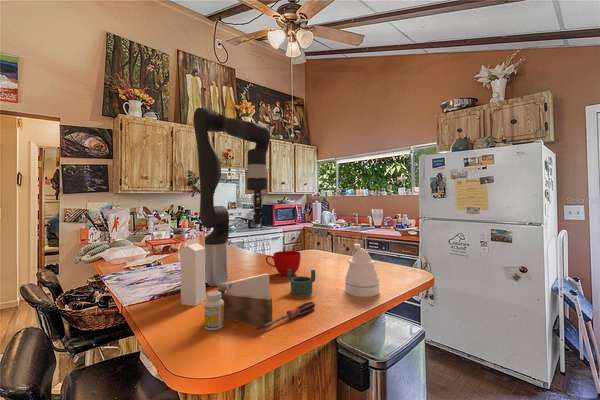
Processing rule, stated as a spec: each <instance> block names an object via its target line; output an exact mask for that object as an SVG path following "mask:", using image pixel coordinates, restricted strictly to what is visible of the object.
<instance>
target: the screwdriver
mask: <svg viewBox="0 0 600 400" xmlns="http://www.w3.org/2000/svg"><path fill="white" fill-rule="evenodd" d="M315 307H316V303H315V302H314V301H308V302H303V303H301V304H300V305H299V306H296V307H294V308H293V309H289V310H287V311H286V314H285V315H282V316H281V317H279V318H276V319H274V320H272V321H271V322H269V323H267V324H265V325H261V326H258V327H257V328H255V329H254V331H259V330H262V329H264V328H267V327H270V326H269V325H271V324H272V325H274V324H275V323H276V324H277V323H278V322H280V321H283V320H285V319H288V320H292V319H293V318H295V317H298V316H300V315H305V314H307V313H309V312H310V311H311V310H313V309H314V308H315ZM272 325H271V326H272Z"/></svg>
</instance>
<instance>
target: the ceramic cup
mask: <svg viewBox="0 0 600 400" xmlns="http://www.w3.org/2000/svg"><path fill="white" fill-rule="evenodd" d="M301 255H302V253H301V252H300V251H297V250H296V251H294V250H281V251H280V250H279V251H276V252H274V253H273V254H272V255H269V254H268V255H266V257H265V262H266V264H268V266H271V267H273V268H275V269H276V271H277V273H279V274H280V276H283V277H288V269H292V276H294V275H295V273H296V272H297V271H298V270H299V267H300V263H301V257H302V256H301ZM268 258H272V260H273V262H274V264H272V263H270V262H269V260H268Z"/></svg>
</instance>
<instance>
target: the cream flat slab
mask: <svg viewBox="0 0 600 400" xmlns="http://www.w3.org/2000/svg"><path fill="white" fill-rule="evenodd" d="M216 289H217V290H216V291H225V292H226V293H232V294H240V295H249V296H258V297H266V298H271V297H270V296H271V295H270V273H268V272H267V273H263V274H262V273H261V274H258V275H253V276H250V277H244V278H241V279H236V280H232V281H231V280H230V281H227V283H219V284H217V287H216Z"/></svg>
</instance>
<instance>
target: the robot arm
mask: <svg viewBox="0 0 600 400" xmlns="http://www.w3.org/2000/svg"><path fill="white" fill-rule="evenodd" d="M193 128H194V134H195V135H194V136H195V140H196V146H197V159H198V177H199V187H200V188H199V192H200V196H199V197H200V200H199V202H200V203H199V218H200V223H201V225H202V226H203V228H205V229H212V232H210V234H208V235H207V236H205V237H204V248H205V281H206V282H207V283H208V285H209V286H211V287H213V286H214V287H215V286H217V284H219V283H227V282H228V237H229V233H230V230H229V229H230V215H229V210H228V208H227V207H226V206H224V205H215V203H214V200H215V198H214V196H215V193H216V189H217V187H218V185H219V183H220V182H221V181H220V180H221V178H222V165H221V158H220V156H219V154H218V152H217V150H215V148H214V147H213V144H212V143H211V141H210V137H209V136H210V135H209V133H216V132H217V133H221V132H222V133H226V134H227V135H229V136H232V137H234V138H238V139H241V140H243V141H245V142H248V143H255V147H254V148H251V149H248V150H247V155H246V158H247V160H246V163H247V167H246V190H248V191H253V194H252V195H251V200H252V207H253V215H254V219H253V220H254V225H261V223H262V215H261V214H262V208H263V199H264V194H261V193H262V191H267V190H268V169H267V153H268V150H269V146H270V145H269V144H270V141H271V132H270V128H268V126H267V125H264V124H261V123H256V122H252V121H247V120H243V119H239V118H233V117H227V116H225V115H223V114H221V113H219V112H218V111H215V110H212V109H208V108H205V107H197V108H196V109H195V110H194V113H193ZM208 285H207V286H208ZM209 286H208V287H209Z"/></svg>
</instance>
